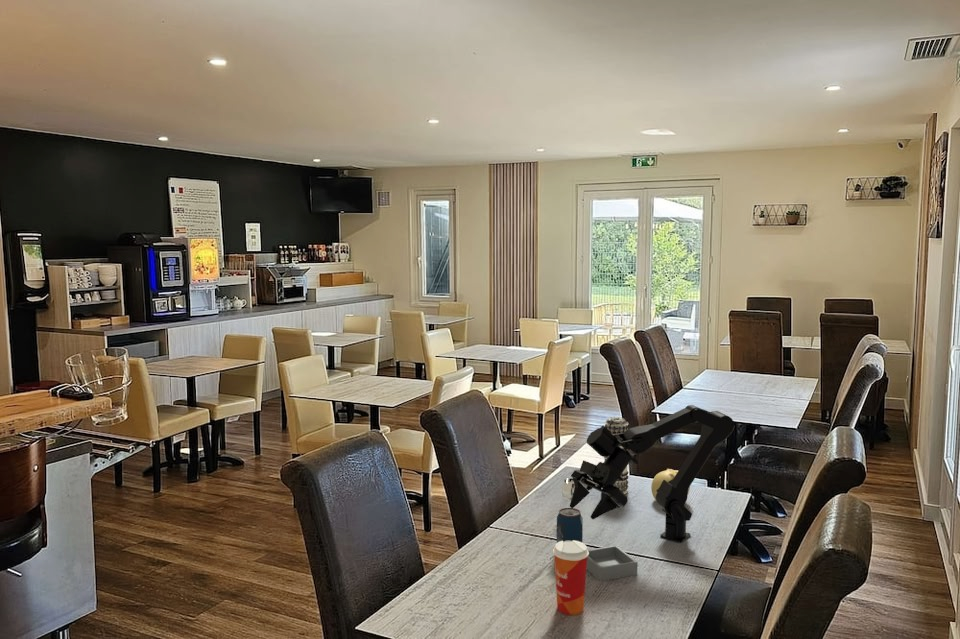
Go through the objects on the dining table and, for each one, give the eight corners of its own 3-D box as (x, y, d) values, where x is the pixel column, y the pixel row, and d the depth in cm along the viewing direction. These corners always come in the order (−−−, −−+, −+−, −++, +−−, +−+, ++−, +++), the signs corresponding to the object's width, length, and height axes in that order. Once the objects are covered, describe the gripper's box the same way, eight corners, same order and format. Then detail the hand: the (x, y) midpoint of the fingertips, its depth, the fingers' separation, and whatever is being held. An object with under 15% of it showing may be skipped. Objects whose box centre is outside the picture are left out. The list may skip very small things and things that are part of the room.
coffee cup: (549, 600, 169) (549, 539, 168) (583, 598, 170) (584, 538, 168) (556, 619, 161) (556, 555, 159) (592, 617, 162) (592, 553, 160)
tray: (615, 557, 192) (616, 545, 192) (637, 574, 182) (637, 561, 182) (580, 563, 188) (580, 551, 188) (600, 581, 179) (600, 568, 178)
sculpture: (693, 508, 226) (694, 475, 224) (655, 509, 226) (656, 475, 225) (684, 496, 237) (684, 464, 236) (647, 496, 237) (648, 464, 236)
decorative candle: (601, 495, 238) (602, 421, 236) (601, 485, 247) (602, 414, 245) (629, 496, 237) (630, 422, 234) (628, 486, 246) (629, 415, 243)
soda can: (585, 551, 196) (585, 509, 194) (577, 561, 189) (578, 518, 188) (561, 547, 198) (561, 505, 197) (553, 557, 192) (553, 514, 191)
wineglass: (580, 523, 215) (580, 484, 213) (561, 522, 216) (561, 483, 215) (581, 516, 220) (581, 478, 219) (562, 514, 222) (563, 477, 220)
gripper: (576, 441, 204) (544, 485, 199) (620, 459, 187) (585, 507, 183) (598, 464, 208) (566, 507, 204) (642, 483, 192) (609, 531, 188)
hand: (581, 512), depth 195 cm, fingers open, 9 cm apart
